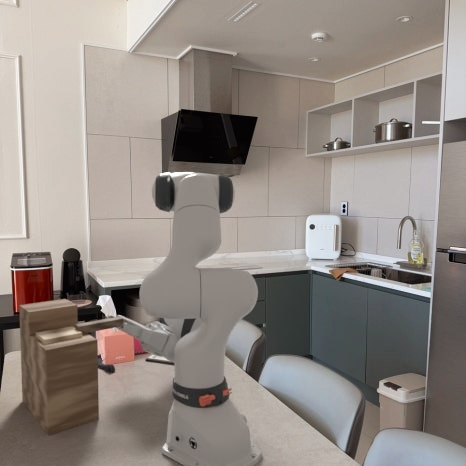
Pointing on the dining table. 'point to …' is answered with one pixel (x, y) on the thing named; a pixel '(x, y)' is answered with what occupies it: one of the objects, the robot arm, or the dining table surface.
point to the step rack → (58, 368)
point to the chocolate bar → (159, 360)
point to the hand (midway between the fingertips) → (115, 321)
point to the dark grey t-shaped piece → (104, 366)
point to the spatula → (78, 330)
